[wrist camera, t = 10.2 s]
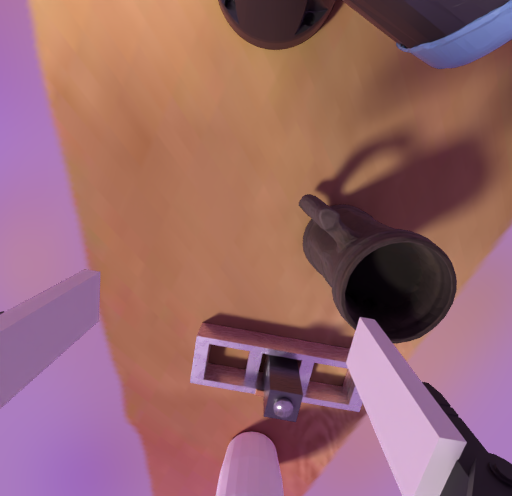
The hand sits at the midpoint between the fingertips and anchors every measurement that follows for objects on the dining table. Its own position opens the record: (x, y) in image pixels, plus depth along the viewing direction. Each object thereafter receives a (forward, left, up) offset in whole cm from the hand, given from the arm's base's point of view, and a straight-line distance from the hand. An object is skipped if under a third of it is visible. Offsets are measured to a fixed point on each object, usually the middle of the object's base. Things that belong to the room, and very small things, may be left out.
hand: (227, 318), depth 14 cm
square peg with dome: (+22, +9, -29) cm, 37 cm away
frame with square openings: (+22, +9, -29) cm, 37 cm away
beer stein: (-1, +11, -29) cm, 31 cm away
